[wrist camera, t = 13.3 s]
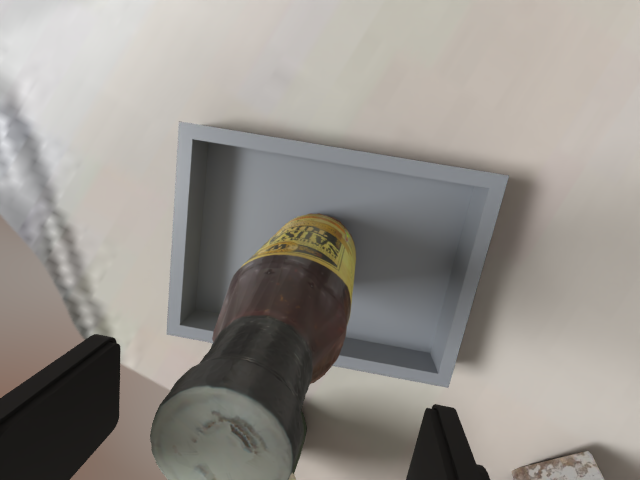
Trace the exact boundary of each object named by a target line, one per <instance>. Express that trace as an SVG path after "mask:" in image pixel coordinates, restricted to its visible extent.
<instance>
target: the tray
mask: <svg viewBox="0 0 640 480" xmlns="http://www.w3.org/2000/svg"><path fill="white" fill-rule="evenodd" d="M508 178H509V176H508V175H502V174H496V173H490V172H484V171H478V170H472V169H466V168H459V167H453V166H447V165H441V164H435V163H429V162H423V161H417V160H411V159H405V158H399V157H393V156H386V155H380V154H374V153H368V152H362V151H356V150H350V149H344V148H338V147H332V146H326V145H320V144H313V143H307V142H301V141H295V140H289V139H283V138H277V137H271V136H265V135H259V134H253V133H246V132H240V131H234V130H228V129H222V128H216V127H210V126H204V125H198V124H192V123H186V122H180V121H179V131H178V148H177V165H176V182H175V199H174V216H173V233H172V250H171V267H170V284H169V301H168V318H167V334H168V335H173V336H178V337H183V338H189V339H194V340H199V341H205V342H210V343H213V340H212V337H213V331H214V329H215V326H216V323H217V320H218V317H219V314H220V311H221V308H222V305H223V303H224V300H225V297H226V294H227V291H228V288H229V285H230V282H231V280H232V278H233V276H234V274H235V273H236V272H237V271H238V270H239V269H240V268H241V267H242V266H243V264H244V263H245V262H247V261H248V260H249V259H250V258H251V257H252V256H253V255H254V254H255V253H256V252H257V251H258V250H259V249H260V248H261V247H262V246H263V245H264V244H265V243H266V242H267V241H268V240H269V239H270V238H272V237H273V236H274V235H275V234H276V233H277V232H278V231H279V230H280V229H281V228H282V227H283V226H284V225H285V224H286V223H288V222H289V221H290V220H292V219H294V218H296V217H299V216H303V215H307V214H311V213H312V214H318V213H320V214H322V215H327V216H330V217H333V218H335V219H337V220H339V221H340V222H341V223H342V224H343V225H344V226H345V227H346V228H347V230H348V231H349V233H350V234H351V236H352V238H353V241H354V245H355V249H356V264H355V274H354V285H353V293H352V304H351V313H350V318H349V322H348V325H347V330H346V337H345V340H344V342H343V346H342V348H341V352H340V354H339V357H338V359H337V360H336V362H335V363H334V364H333V365H332V366H336V367H342V368H347V369H352V370H357V371H363V372H368V373H373V374H378V375H384V376H389V377H394V378H399V379H405V380H410V381H415V382H421V383H426V384H431V385H436V386H442V387H447V388H448V387H449V384H450V380H451V377H452V373H453V370H454V366H455V363H456V359H457V356H458V352H459V349H460V345H461V342H462V338H463V335H464V331H465V328H466V324H467V321H468V318H469V314H470V311H471V307H472V304H473V300H474V297H475V293H476V290H477V286H478V283H479V279H480V276H481V272H482V269H483V265H484V262H485V258H486V255H487V251H488V248H489V244H490V241H491V237H492V234H493V230H494V227H495V223H496V220H497V216H498V213H499V209H500V206H501V202H502V199H503V195H504V192H505V188H506V185H507V181H508Z"/></svg>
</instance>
